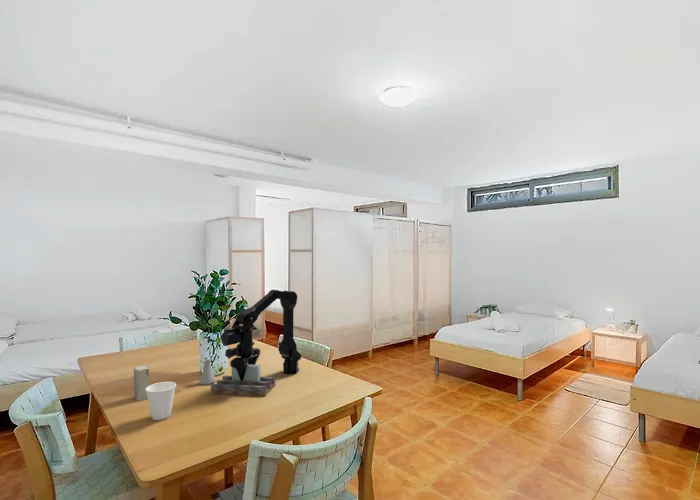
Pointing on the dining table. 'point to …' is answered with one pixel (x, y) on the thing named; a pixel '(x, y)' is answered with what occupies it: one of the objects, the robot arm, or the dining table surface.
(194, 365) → the dining table surface
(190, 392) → the dining table surface
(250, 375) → the door panel
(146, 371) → the skincare box
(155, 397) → the cup
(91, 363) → the dining table surface
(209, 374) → the flask
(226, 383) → the track base
